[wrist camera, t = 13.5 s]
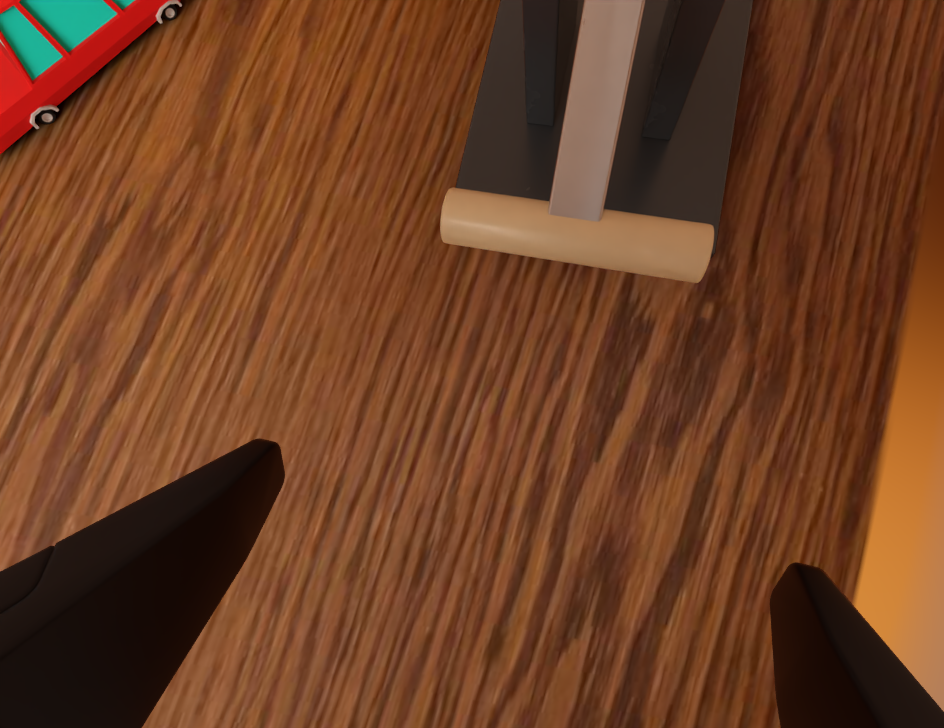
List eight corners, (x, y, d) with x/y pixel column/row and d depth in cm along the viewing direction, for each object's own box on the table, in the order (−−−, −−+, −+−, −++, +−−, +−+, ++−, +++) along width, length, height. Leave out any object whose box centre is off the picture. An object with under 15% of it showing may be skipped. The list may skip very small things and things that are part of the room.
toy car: (-71, 85, 25) (-186, 11, 21) (131, -85, 25) (56, -188, 21) (-2, 176, 23) (-112, 115, 19) (211, -6, 24) (146, -101, 20)
